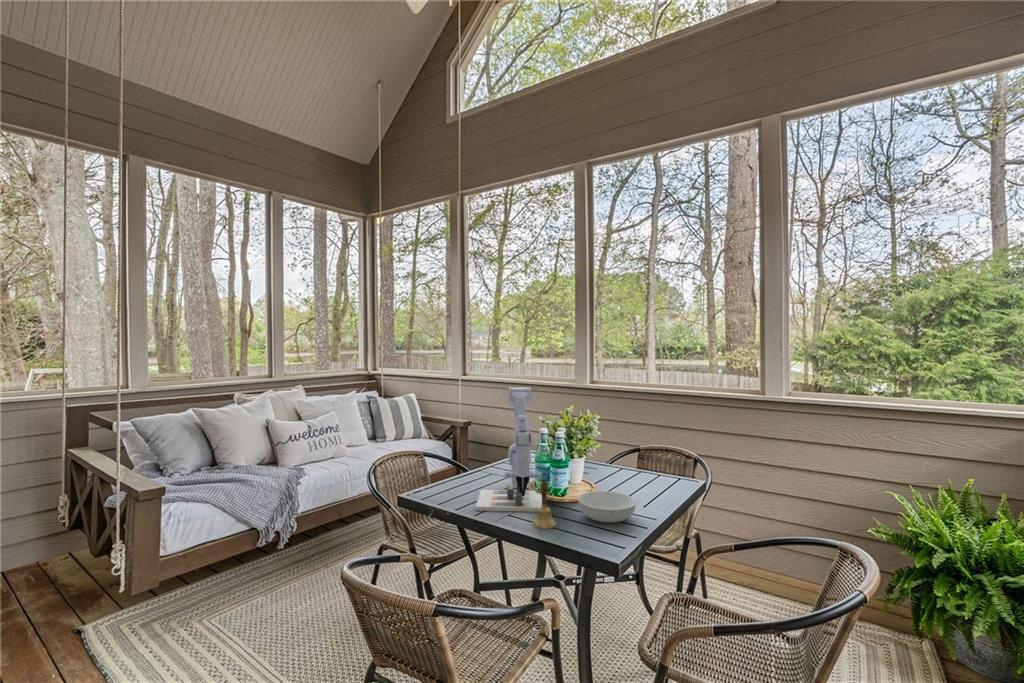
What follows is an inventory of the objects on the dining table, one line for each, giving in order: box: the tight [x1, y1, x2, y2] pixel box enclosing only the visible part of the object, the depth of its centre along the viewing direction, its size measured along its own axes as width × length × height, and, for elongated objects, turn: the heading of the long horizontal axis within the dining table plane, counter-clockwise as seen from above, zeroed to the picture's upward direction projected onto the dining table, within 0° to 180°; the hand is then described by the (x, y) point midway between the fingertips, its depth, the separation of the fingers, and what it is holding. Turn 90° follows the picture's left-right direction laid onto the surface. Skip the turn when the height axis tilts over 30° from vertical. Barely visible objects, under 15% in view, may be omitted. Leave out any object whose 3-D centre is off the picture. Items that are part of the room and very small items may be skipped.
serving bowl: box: [577, 490, 637, 524], centre depth 175 cm, size 21×21×7 cm
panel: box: [474, 482, 542, 513], centre depth 191 cm, size 20×26×6 cm
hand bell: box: [532, 478, 557, 530], centre depth 169 cm, size 8×8×16 cm
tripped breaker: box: [506, 486, 515, 498], centre depth 191 cm, size 3×2×4 cm
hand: (522, 495), depth 191 cm, fingers closed
